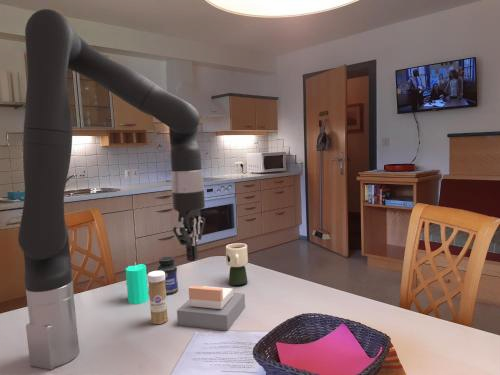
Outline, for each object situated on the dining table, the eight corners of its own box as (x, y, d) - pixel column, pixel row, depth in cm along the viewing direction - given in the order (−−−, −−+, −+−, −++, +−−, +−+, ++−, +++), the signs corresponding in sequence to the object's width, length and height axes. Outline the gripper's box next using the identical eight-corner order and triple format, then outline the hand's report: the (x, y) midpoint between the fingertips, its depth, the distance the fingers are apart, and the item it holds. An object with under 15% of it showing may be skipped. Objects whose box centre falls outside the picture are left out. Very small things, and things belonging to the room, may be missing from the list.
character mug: (228, 278, 132) (226, 242, 131) (248, 277, 132) (246, 241, 131) (227, 290, 121) (225, 250, 120) (249, 289, 122) (247, 249, 120)
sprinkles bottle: (153, 326, 99) (149, 277, 98) (149, 319, 103) (145, 272, 102) (170, 322, 101) (166, 273, 100) (165, 315, 105) (162, 268, 104)
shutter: (221, 309, 98) (220, 290, 97) (189, 306, 101) (188, 288, 100) (233, 295, 106) (232, 278, 106) (203, 292, 109) (202, 276, 108)
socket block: (227, 330, 95) (226, 315, 95) (177, 324, 99) (176, 310, 99) (245, 307, 108) (244, 293, 108) (200, 302, 113) (199, 290, 112)
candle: (151, 296, 120) (148, 259, 118) (144, 304, 114) (141, 265, 112) (133, 296, 120) (129, 259, 119) (125, 304, 114) (121, 265, 113)
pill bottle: (159, 296, 119) (156, 262, 118) (158, 289, 125) (156, 257, 123) (179, 293, 120) (176, 260, 119) (177, 287, 126) (175, 254, 125)
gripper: (189, 193, 83) (194, 269, 85) (213, 185, 95) (217, 252, 97) (159, 193, 85) (164, 267, 87) (186, 186, 98) (190, 251, 100)
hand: (192, 259), depth 92 cm, fingers closed
